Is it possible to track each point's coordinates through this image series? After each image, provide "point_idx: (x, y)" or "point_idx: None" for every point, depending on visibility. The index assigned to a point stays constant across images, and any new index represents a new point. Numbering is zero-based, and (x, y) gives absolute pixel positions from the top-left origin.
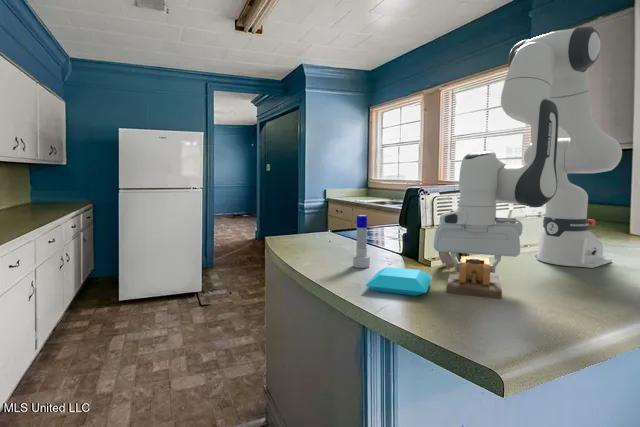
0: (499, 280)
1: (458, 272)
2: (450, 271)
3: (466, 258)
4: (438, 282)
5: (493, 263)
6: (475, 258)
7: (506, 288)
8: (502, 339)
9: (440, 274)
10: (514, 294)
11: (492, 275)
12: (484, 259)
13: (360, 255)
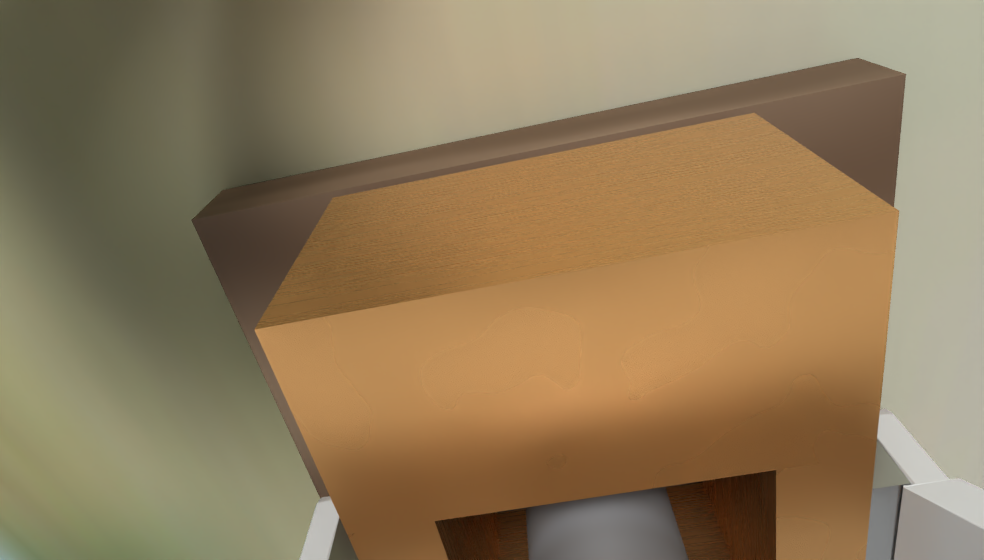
0: None
1: (312, 216)
2: (192, 220)
3: (428, 474)
4: (235, 460)
5: (929, 525)
6: (593, 389)
7: (914, 321)
8: None
9: (50, 131)
10: (956, 461)
11: (809, 115)
12: (784, 387)
13: None
